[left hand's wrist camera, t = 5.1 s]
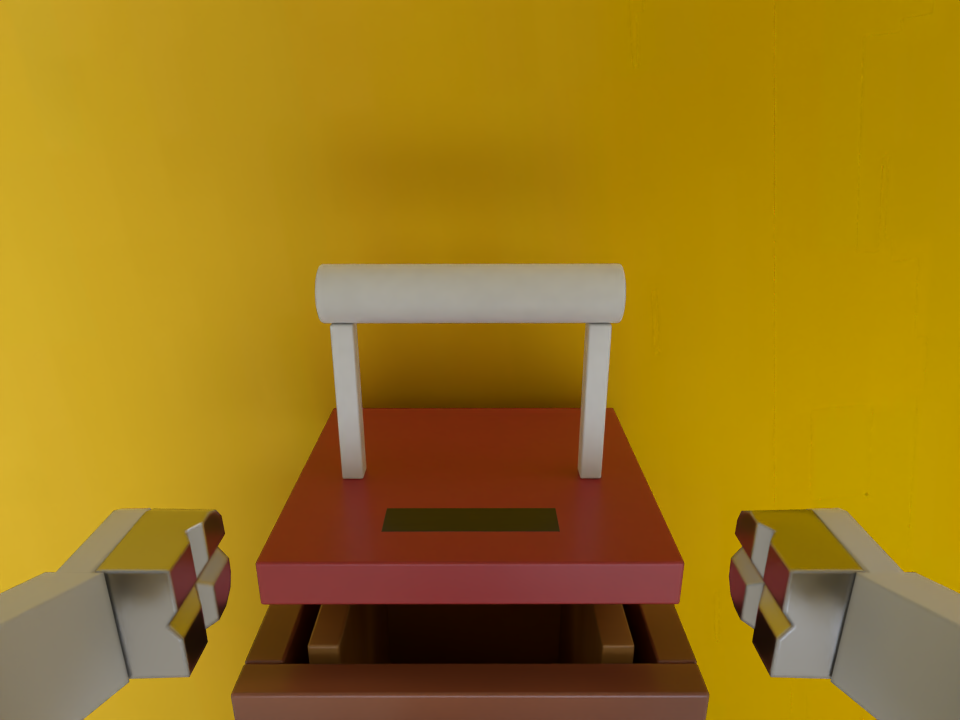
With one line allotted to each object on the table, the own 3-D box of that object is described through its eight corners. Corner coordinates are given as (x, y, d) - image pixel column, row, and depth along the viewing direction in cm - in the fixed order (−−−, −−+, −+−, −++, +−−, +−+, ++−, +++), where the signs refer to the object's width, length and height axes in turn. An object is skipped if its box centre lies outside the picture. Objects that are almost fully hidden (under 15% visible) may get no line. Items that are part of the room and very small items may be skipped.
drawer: (318, 234, 21) (217, 306, 13) (626, 234, 21) (717, 306, 13) (365, 789, 30) (322, 1043, 22) (584, 789, 30) (624, 1043, 22)
